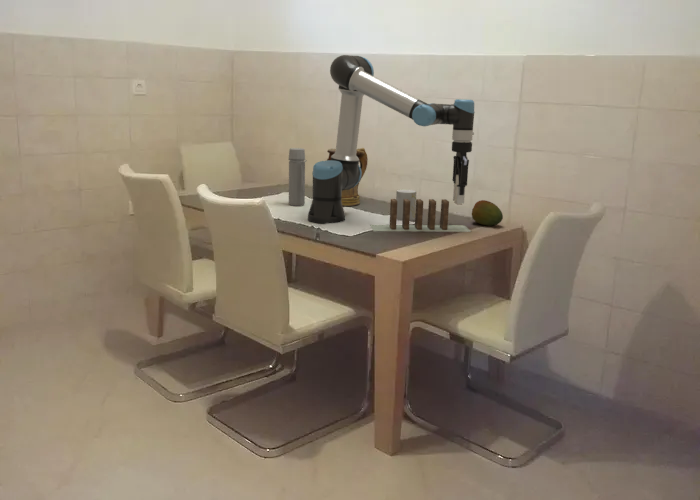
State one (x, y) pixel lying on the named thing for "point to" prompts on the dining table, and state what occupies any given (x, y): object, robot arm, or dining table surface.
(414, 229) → the strip
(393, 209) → the tile
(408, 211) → the tile
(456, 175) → the ivory tile
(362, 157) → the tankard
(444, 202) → the tile
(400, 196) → the cup
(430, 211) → the tile
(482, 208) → the fruit
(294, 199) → the water bottle
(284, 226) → the dining table surface
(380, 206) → the dining table surface
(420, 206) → the tile
